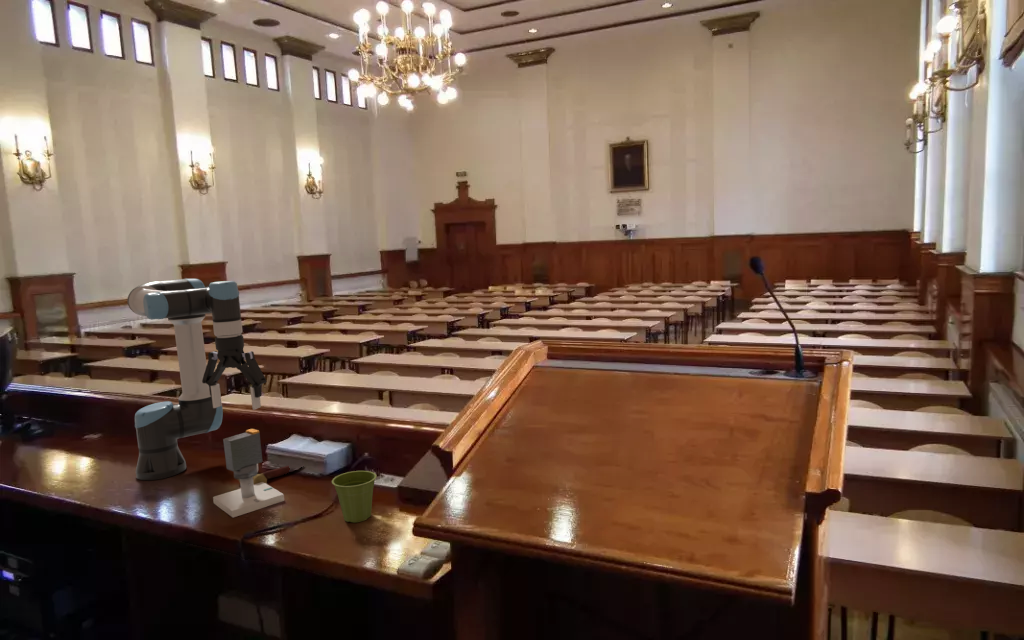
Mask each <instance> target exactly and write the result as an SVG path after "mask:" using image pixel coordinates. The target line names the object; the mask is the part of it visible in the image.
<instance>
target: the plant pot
mask: <svg viewBox="0 0 1024 640" xmlns="http://www.w3.org/2000/svg"><path fill="white" fill-rule="evenodd" d="M377 477H378V476H377V474H376V473H375V472H373V471H370V470H356V471H355V470H353V471H347V472H345V473H341V474H338V475H336V476H334V478H332V480H331V484H332V485H333V486H334V488H335V491H336V494H337V497H338V500H339V501H338V502H339V505H340V509H341V512H342V517H343V520H344V521H345V522H346V523H348V522H350V523H356V524H357V523H359V522H364V521H366V520H368V519H369V518H371V516H372V508H373V507H372V506H373V505H372V504H373V493H374V487H375V480H376V479H377Z"/></svg>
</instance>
